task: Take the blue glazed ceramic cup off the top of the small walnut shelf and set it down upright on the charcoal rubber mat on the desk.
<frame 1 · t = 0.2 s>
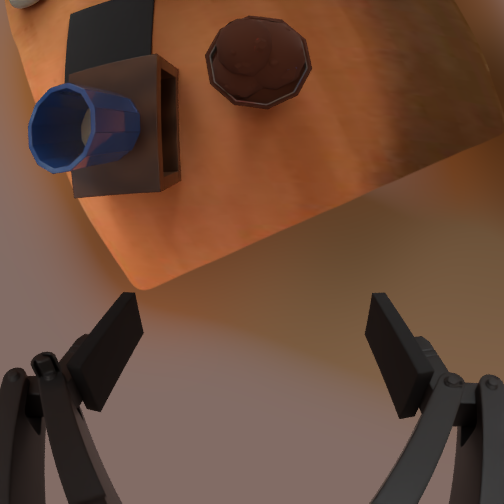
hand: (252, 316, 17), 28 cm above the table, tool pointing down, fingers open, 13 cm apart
shelf: (138, 128, 39), on the table
cup: (109, 127, 31), point 9 cm above the table, touching shelf
mat: (107, 35, 34), on the table
ice cream bowl: (259, 77, 36), on the table
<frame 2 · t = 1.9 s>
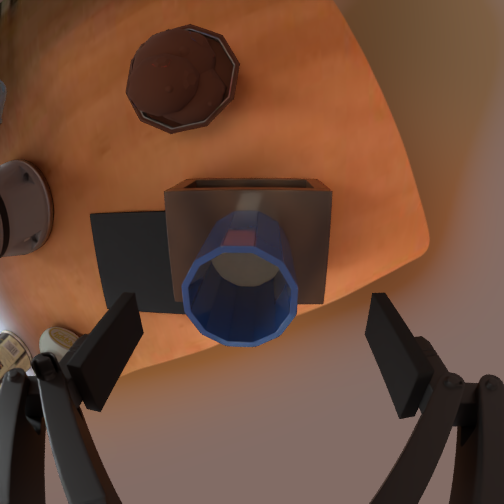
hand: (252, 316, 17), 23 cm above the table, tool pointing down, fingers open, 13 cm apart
shelf: (251, 225, 39), on the table
cup: (247, 250, 31), point 9 cm above the table, touching shelf
air freshener: (72, 344, 48), on the table
mat: (137, 264, 42), on the table
coffee can: (16, 349, 51), on the table
ice cream bowl: (200, 91, 34), on the table
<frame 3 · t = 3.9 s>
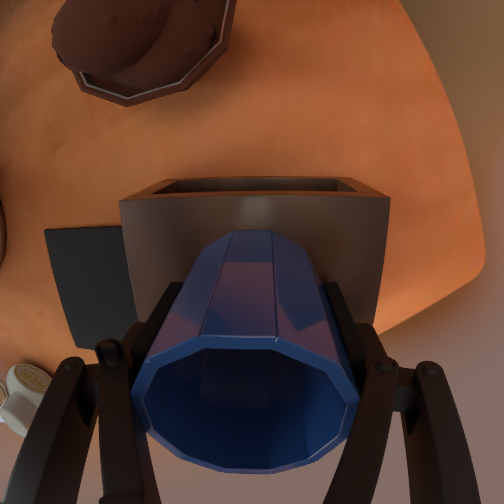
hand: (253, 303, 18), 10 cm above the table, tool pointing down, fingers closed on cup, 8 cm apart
shelf: (257, 244, 27), on the table
cup: (254, 293, 19), point 9 cm above the table, touching gripper, shelf
air freshener: (45, 381, 37), on the table
mat: (106, 295, 30), on the table
ice cream bowl: (183, 55, 22), on the table
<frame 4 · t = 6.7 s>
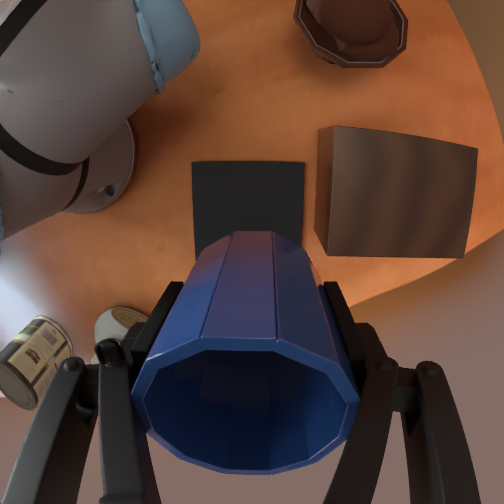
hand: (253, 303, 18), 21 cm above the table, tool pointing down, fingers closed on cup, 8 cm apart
shelf: (380, 184, 35), on the table
cup: (254, 294, 19), point 19 cm above the table, touching gripper
air freshener: (135, 329, 44), on the table
mat: (247, 224, 37), on the table
coffee can: (52, 339, 47), on the table
ice cream bowl: (333, 44, 30), on the table
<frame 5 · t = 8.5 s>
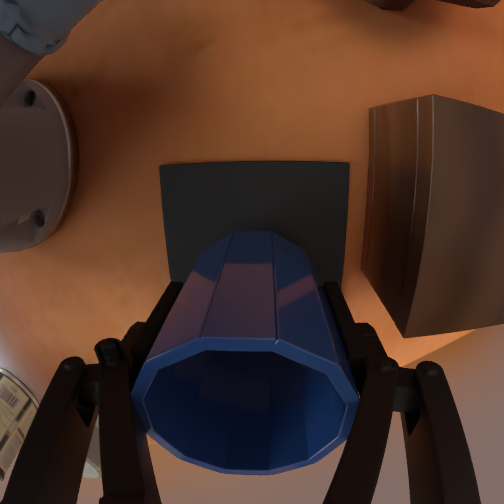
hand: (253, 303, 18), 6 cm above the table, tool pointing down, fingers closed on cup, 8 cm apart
shelf: (456, 197, 20), on the table
cup: (254, 294, 19), point 4 cm above the table, touching gripper
air freshener: (107, 396, 30), on the table
mat: (255, 264, 23), on the table
coffee can: (16, 393, 32), on the table
when the fingers open (2 cm above the table, at t = 10.0 s): cup stays where it is, resting on mat.
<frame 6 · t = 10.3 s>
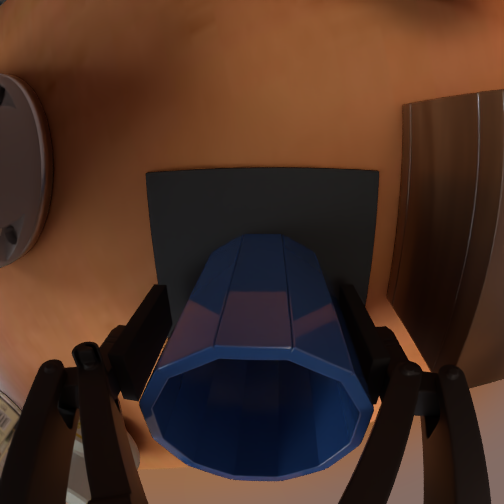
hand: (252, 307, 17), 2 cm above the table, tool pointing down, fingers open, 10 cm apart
shelf: (494, 212, 16), on the table
cup: (263, 297, 19), resting on mat
air freshener: (99, 422, 26), on the table
mat: (262, 292, 19), on the table
coffee can: (7, 409, 29), on the table
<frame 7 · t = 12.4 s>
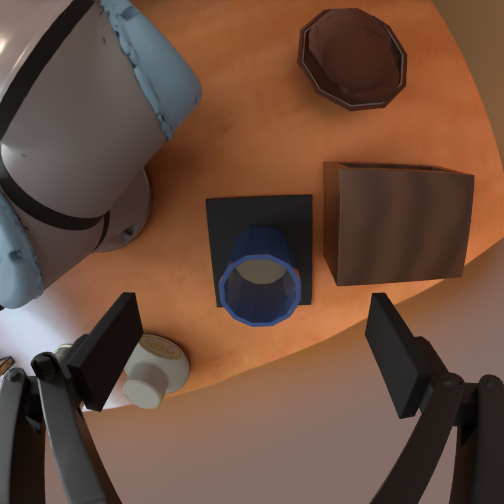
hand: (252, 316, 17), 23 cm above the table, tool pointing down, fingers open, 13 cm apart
shelf: (383, 209, 37), on the table
ammunition clip: (4, 361, 53), on the table
cup: (261, 256, 40), resting on mat
air freshener: (160, 352, 47), on the table
mat: (261, 254, 40), on the table
ice cream bowl: (334, 75, 32), on the table
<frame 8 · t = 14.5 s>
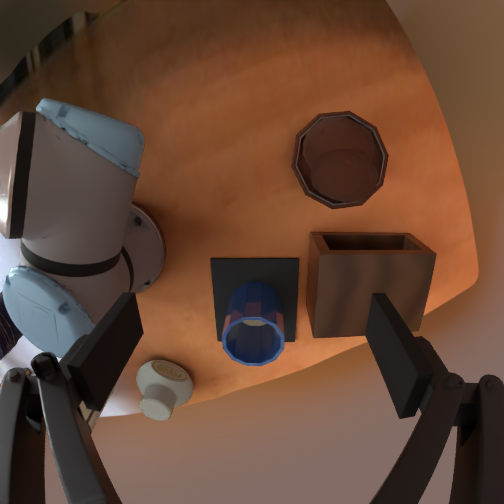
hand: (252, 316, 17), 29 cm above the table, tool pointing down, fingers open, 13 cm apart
shelf: (358, 269, 46), on the table
ammunition clip: (20, 371, 61), on the table
cup: (255, 304, 49), resting on mat
air freshener: (168, 373, 56), on the table
mat: (255, 302, 49), on the table
storage jar: (27, 301, 52), on the table
coffee can: (93, 379, 58), on the table
ice cream bowl: (325, 155, 41), on the table
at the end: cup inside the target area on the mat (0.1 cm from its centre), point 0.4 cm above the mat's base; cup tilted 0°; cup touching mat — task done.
